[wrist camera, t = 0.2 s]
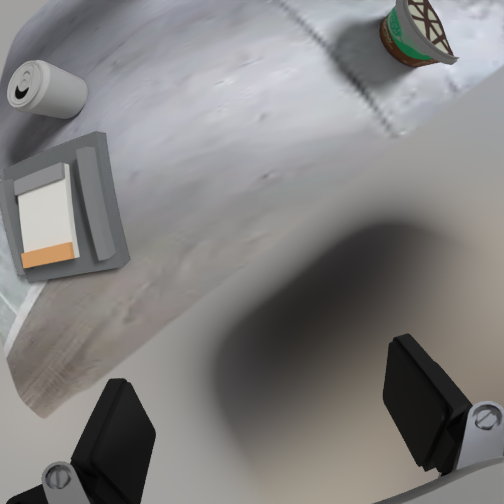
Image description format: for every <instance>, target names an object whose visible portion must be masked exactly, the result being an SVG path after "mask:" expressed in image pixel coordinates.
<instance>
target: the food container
mask: <svg viewBox="0 0 504 504" xmlns="http://www.w3.org/2000/svg"><path fill="white" fill-rule="evenodd" d="M379 32H380V38H381V40H382V43H383V45H384V46H385V48H386V49H387V51H388V52H389V53H390V54H391V55H392V56H393V57H394V58H395V59H397V60H398V61H399V62H401V63H403V64H405V65H408V66H411V67H421V66H425V65H430V64H434V63H439V62H441V63H444V64H449V65H452V64H454V63H455V62H456V61H457V59H458V58H459V57H454V55H453V52H452V50H451V48H450V46H449V43H448V41H447V38H446V35H445V32H444V29H443V26H442V24H441V21H440V19H439V18H438V16H437V14H436V13H435V11H434V10H433V8H432V6H431V5H430V3H429V1H428V0H396V6H395V7H394V8H393V9H392V10H391V12H390V13H389V14H388V15H387V16H386V18H385V19H384V20H383V21H382V23H381V25H380V30H379Z"/></svg>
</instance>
